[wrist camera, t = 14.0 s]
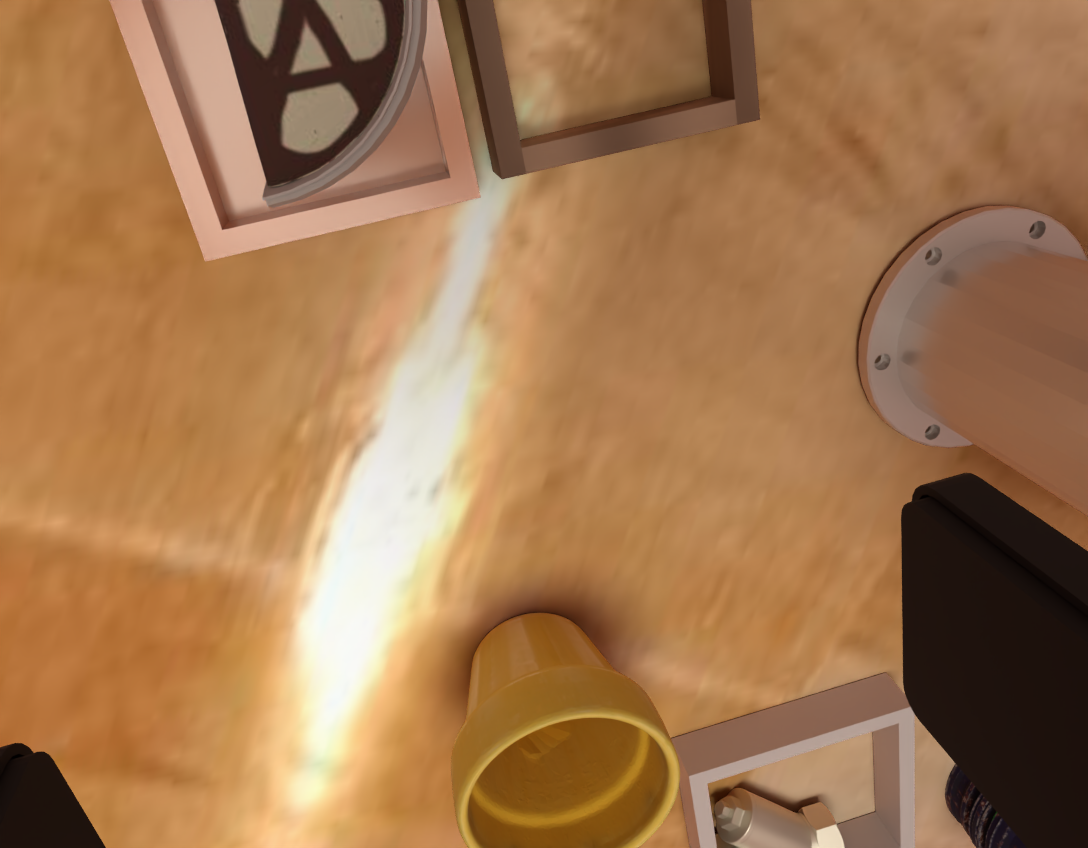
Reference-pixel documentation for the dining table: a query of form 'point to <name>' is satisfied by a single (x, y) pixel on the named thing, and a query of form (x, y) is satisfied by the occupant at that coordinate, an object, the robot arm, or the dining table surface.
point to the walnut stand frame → (723, 109)
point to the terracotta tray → (230, 151)
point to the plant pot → (558, 745)
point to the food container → (321, 82)
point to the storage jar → (977, 814)
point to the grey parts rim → (804, 725)
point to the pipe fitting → (772, 824)
